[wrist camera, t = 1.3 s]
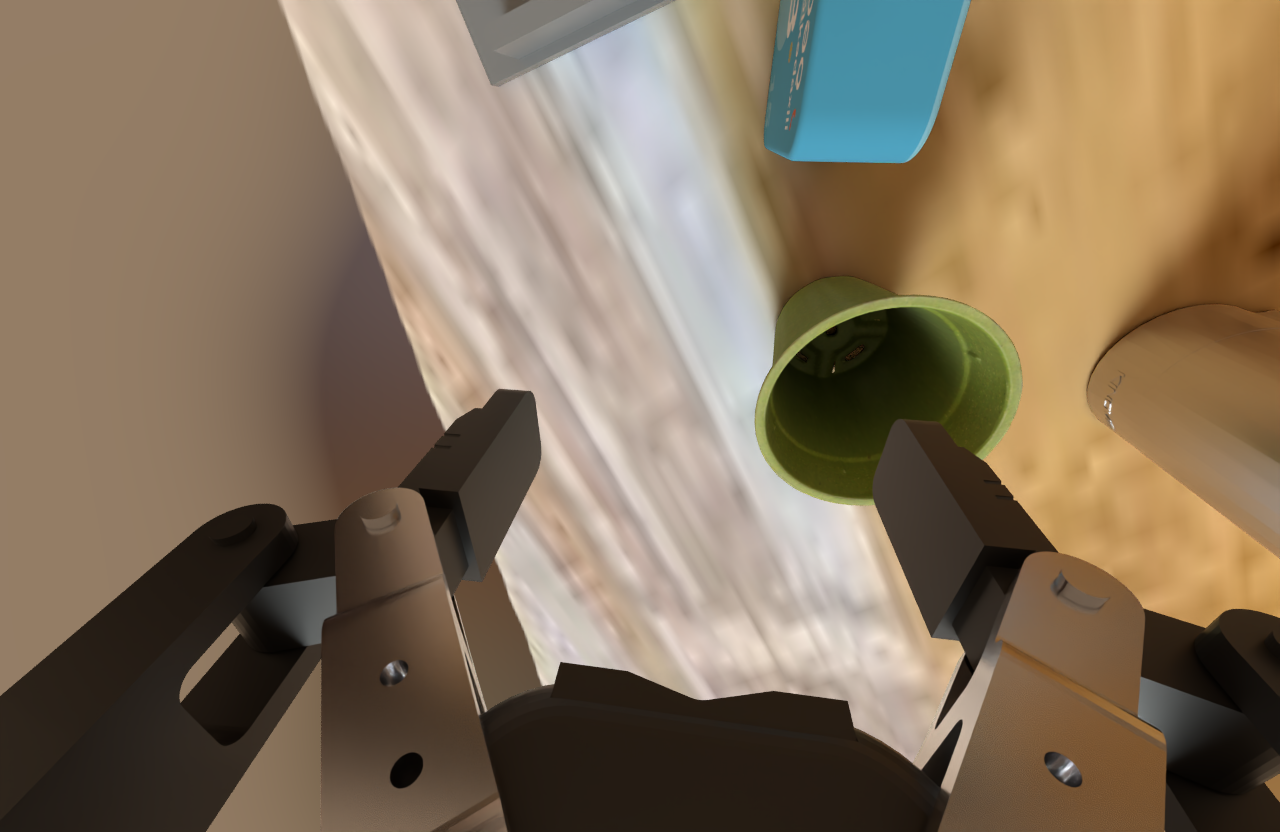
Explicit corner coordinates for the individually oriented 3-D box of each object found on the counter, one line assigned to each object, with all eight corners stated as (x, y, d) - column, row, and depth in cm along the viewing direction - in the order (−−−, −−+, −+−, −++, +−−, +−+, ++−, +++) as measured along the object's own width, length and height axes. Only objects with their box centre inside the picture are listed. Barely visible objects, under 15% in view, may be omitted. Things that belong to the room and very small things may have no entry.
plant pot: (719, 381, 35) (724, 478, 26) (778, 217, 29) (813, 264, 19) (871, 420, 35) (931, 530, 26) (964, 264, 29) (1089, 335, 19)
